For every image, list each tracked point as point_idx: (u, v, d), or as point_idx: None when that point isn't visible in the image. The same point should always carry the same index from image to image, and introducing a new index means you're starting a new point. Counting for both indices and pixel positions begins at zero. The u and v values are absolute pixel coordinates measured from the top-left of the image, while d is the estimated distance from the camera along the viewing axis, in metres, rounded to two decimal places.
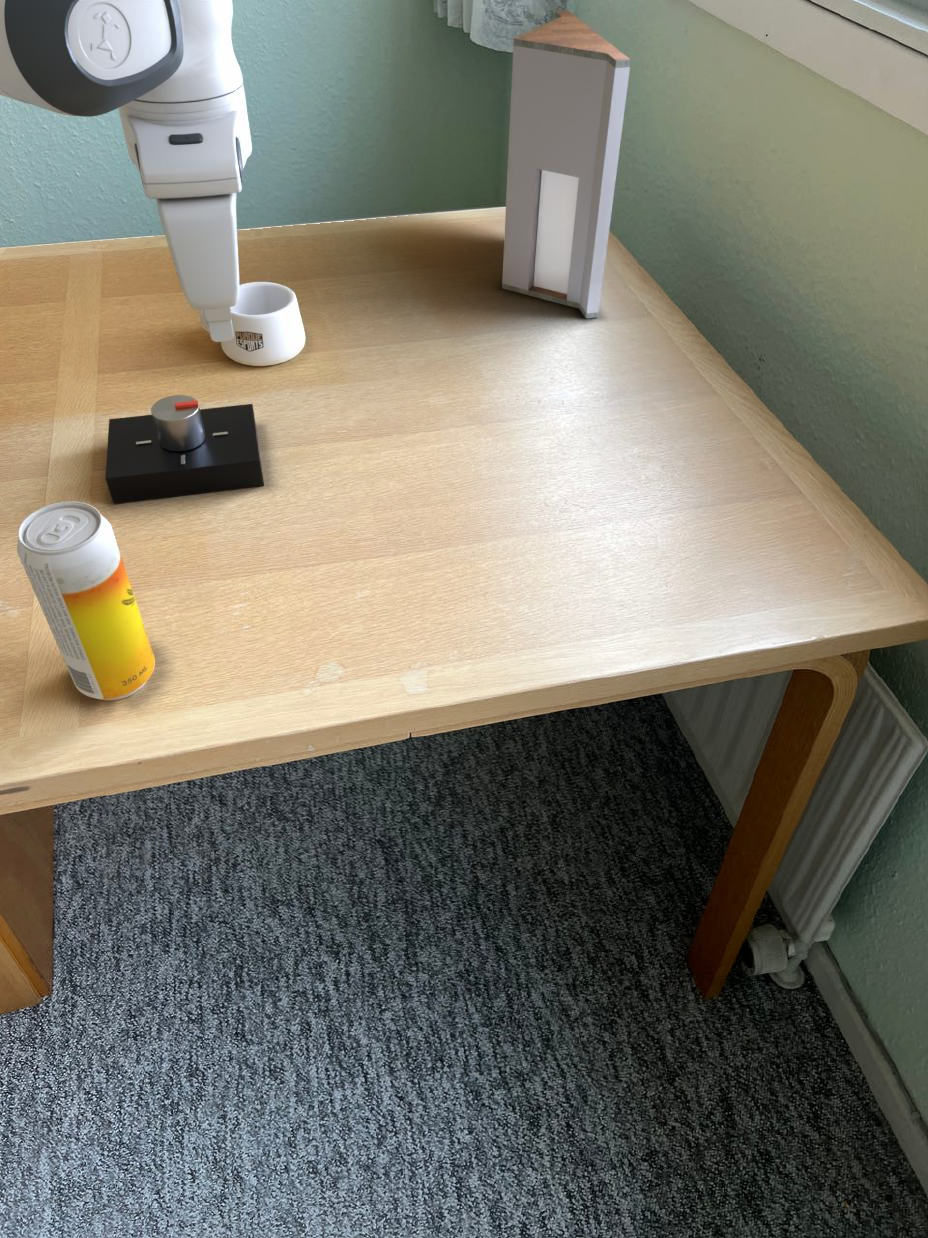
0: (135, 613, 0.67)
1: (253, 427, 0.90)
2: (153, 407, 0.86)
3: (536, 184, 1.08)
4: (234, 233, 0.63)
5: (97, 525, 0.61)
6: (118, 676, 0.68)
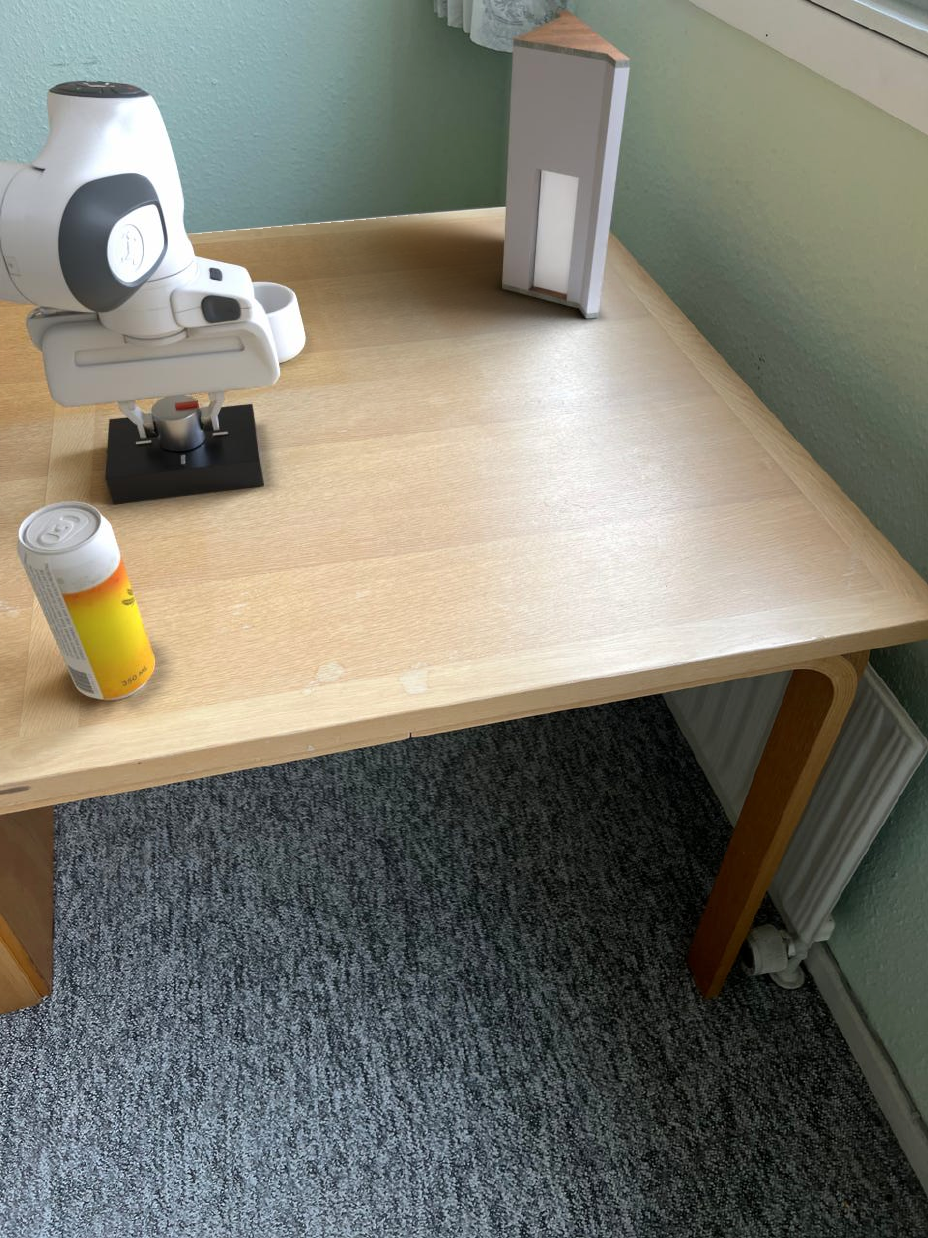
0: (135, 613, 0.67)
1: (253, 427, 0.90)
2: (153, 407, 0.86)
3: (536, 184, 1.08)
4: (264, 313, 0.84)
5: (97, 525, 0.61)
6: (118, 676, 0.68)
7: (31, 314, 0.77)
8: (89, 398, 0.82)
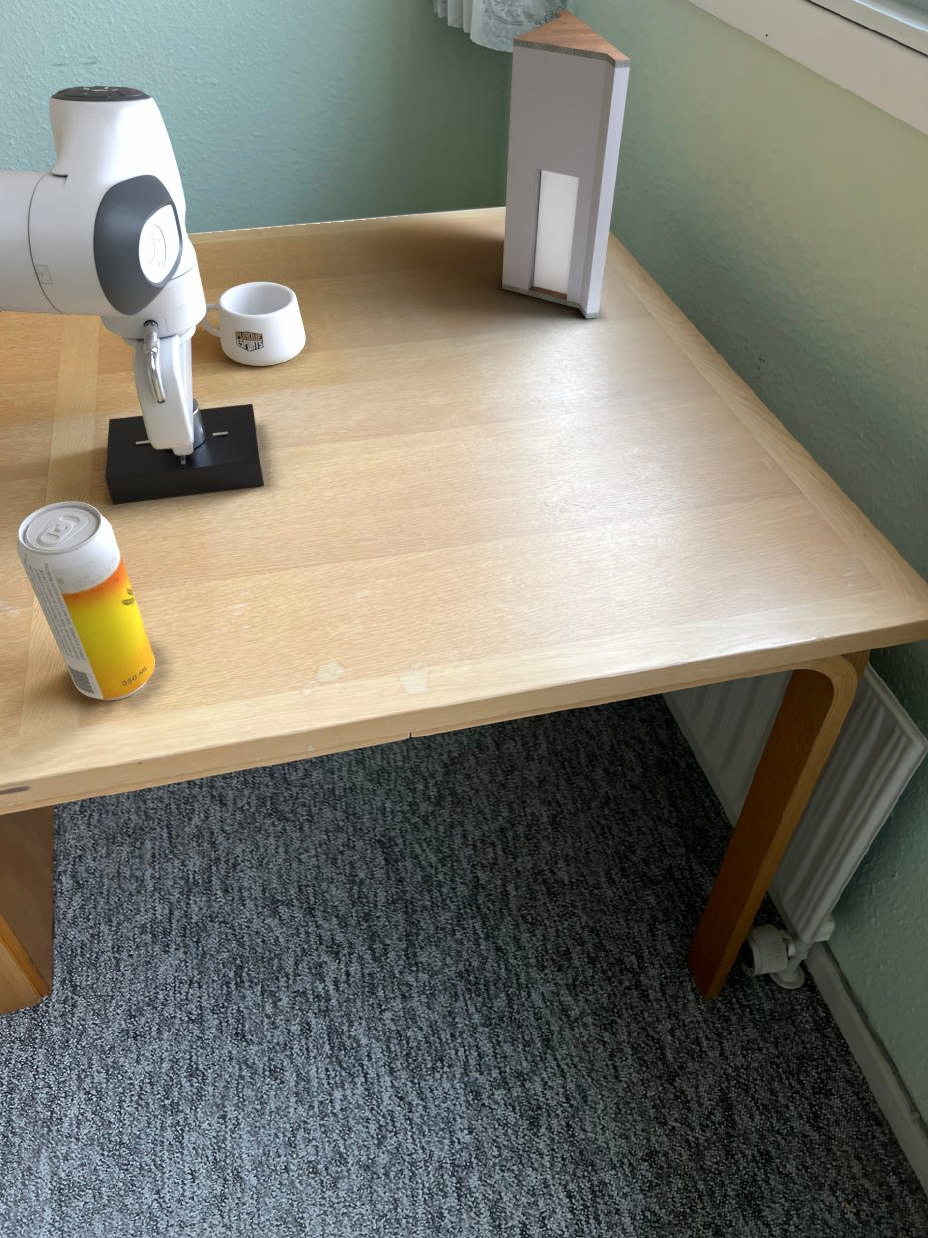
0: (135, 613, 0.67)
1: (253, 427, 0.90)
2: None
3: (536, 184, 1.08)
4: None
5: (97, 525, 0.61)
6: (118, 676, 0.68)
7: (153, 362, 0.73)
8: None
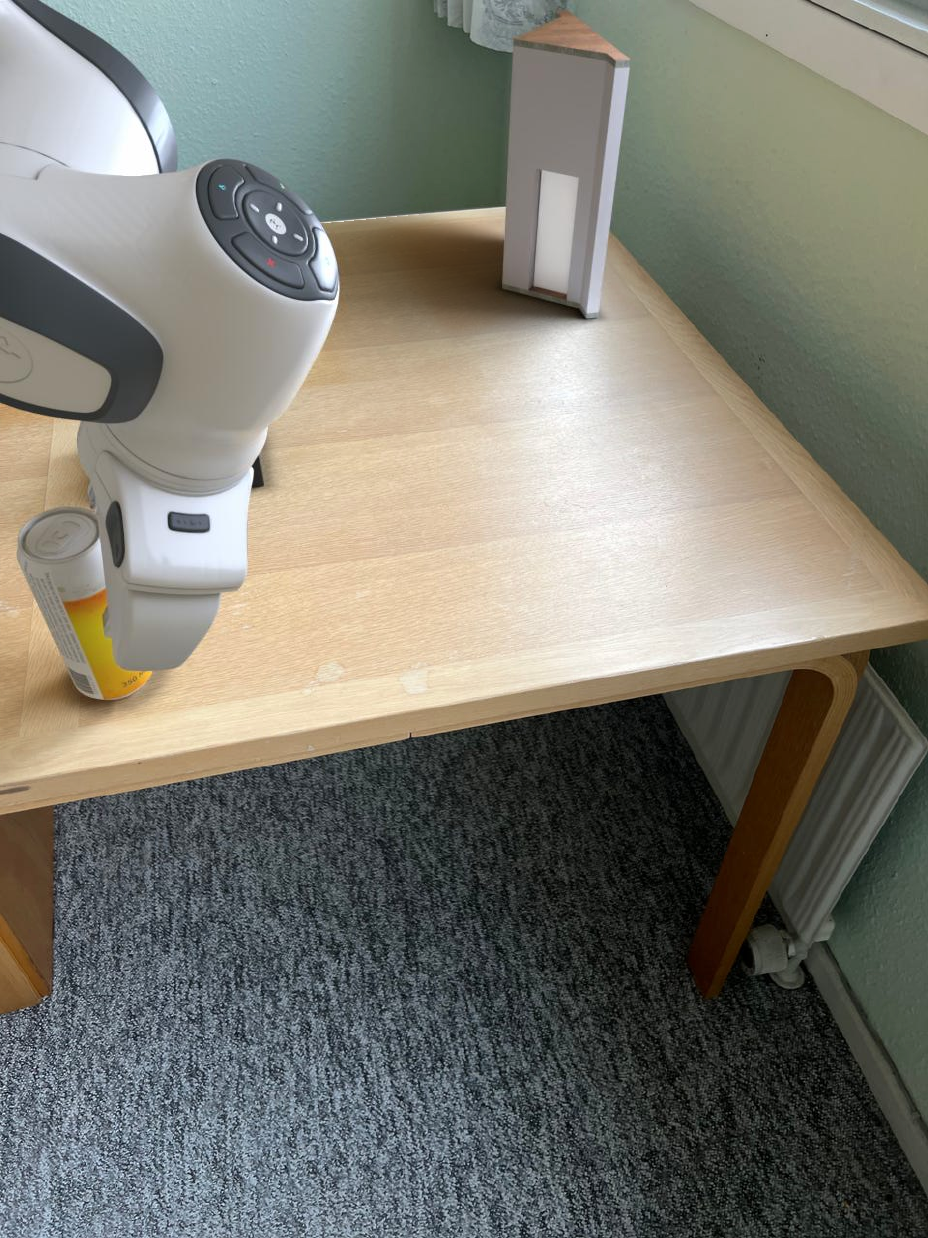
0: None
1: None
2: None
3: (536, 184, 1.08)
4: None
5: (98, 532, 0.61)
6: (118, 678, 0.67)
7: None
8: None
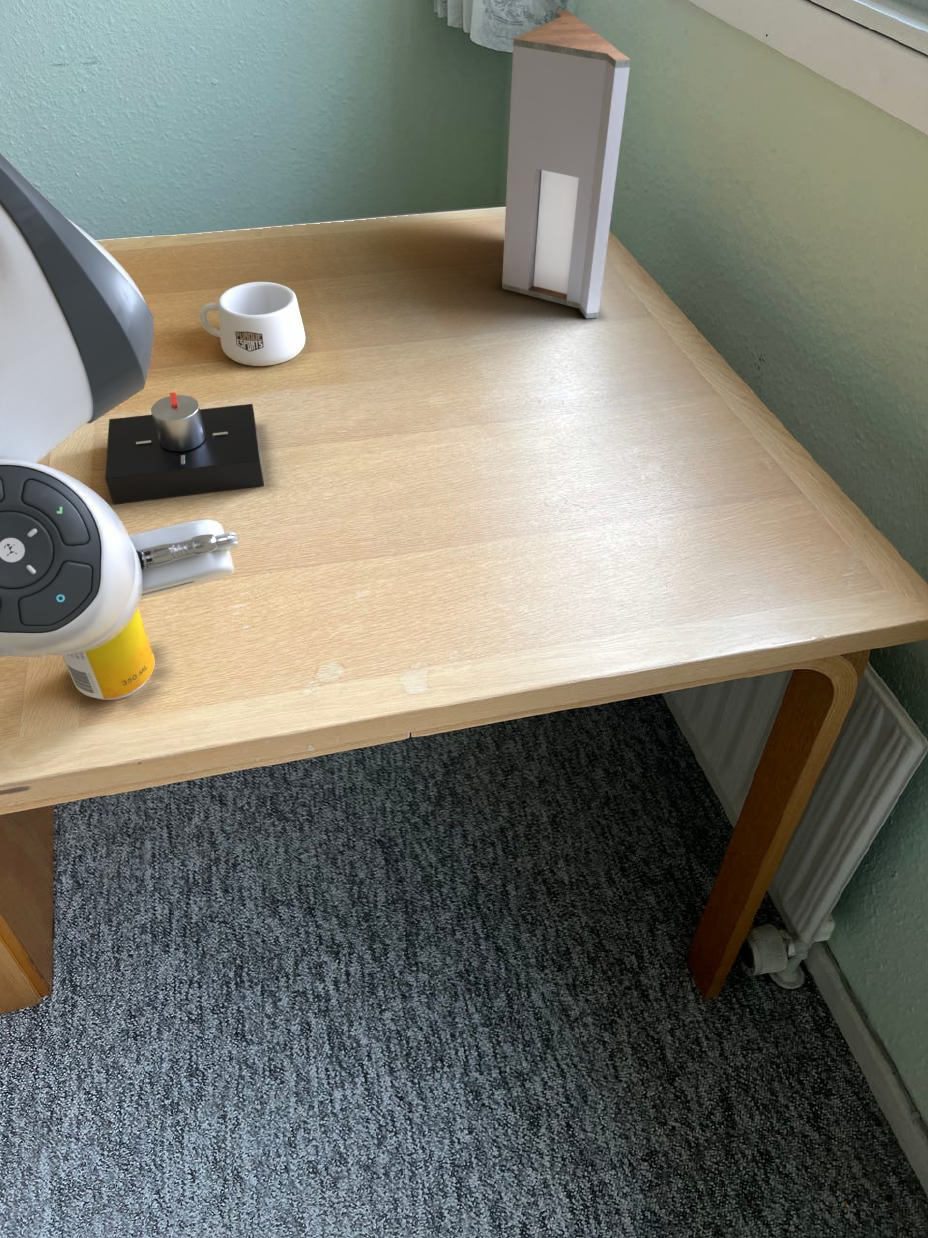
0: (135, 613, 0.67)
1: (253, 427, 0.90)
2: (172, 419, 0.85)
3: (536, 184, 1.08)
4: None
5: None
6: (118, 675, 0.68)
7: (227, 535, 0.56)
8: None
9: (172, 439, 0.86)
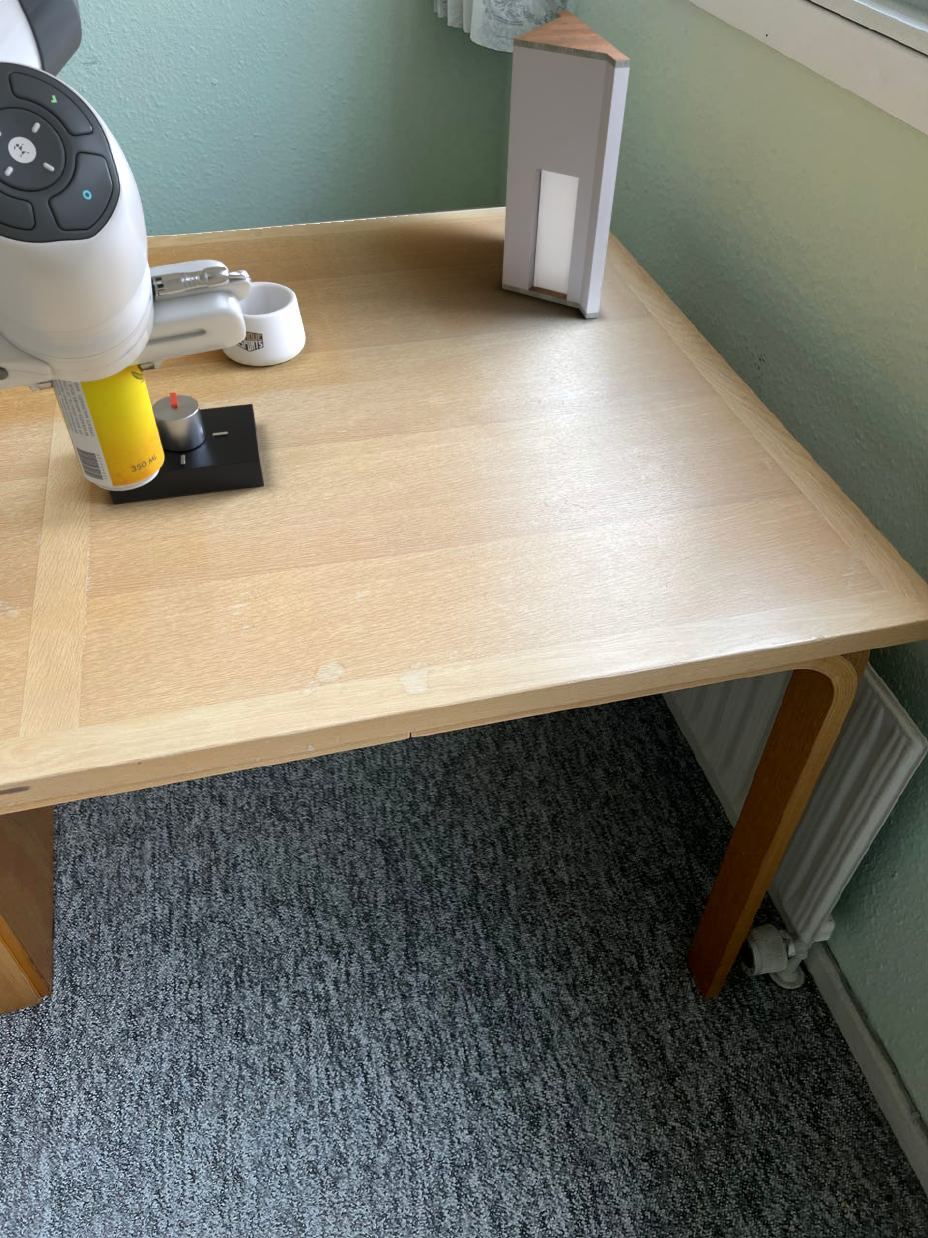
0: (145, 392, 0.66)
1: (253, 427, 0.90)
2: (172, 419, 0.85)
3: (536, 184, 1.08)
4: None
5: None
6: (128, 458, 0.67)
7: (239, 271, 0.55)
8: None
9: (172, 439, 0.86)
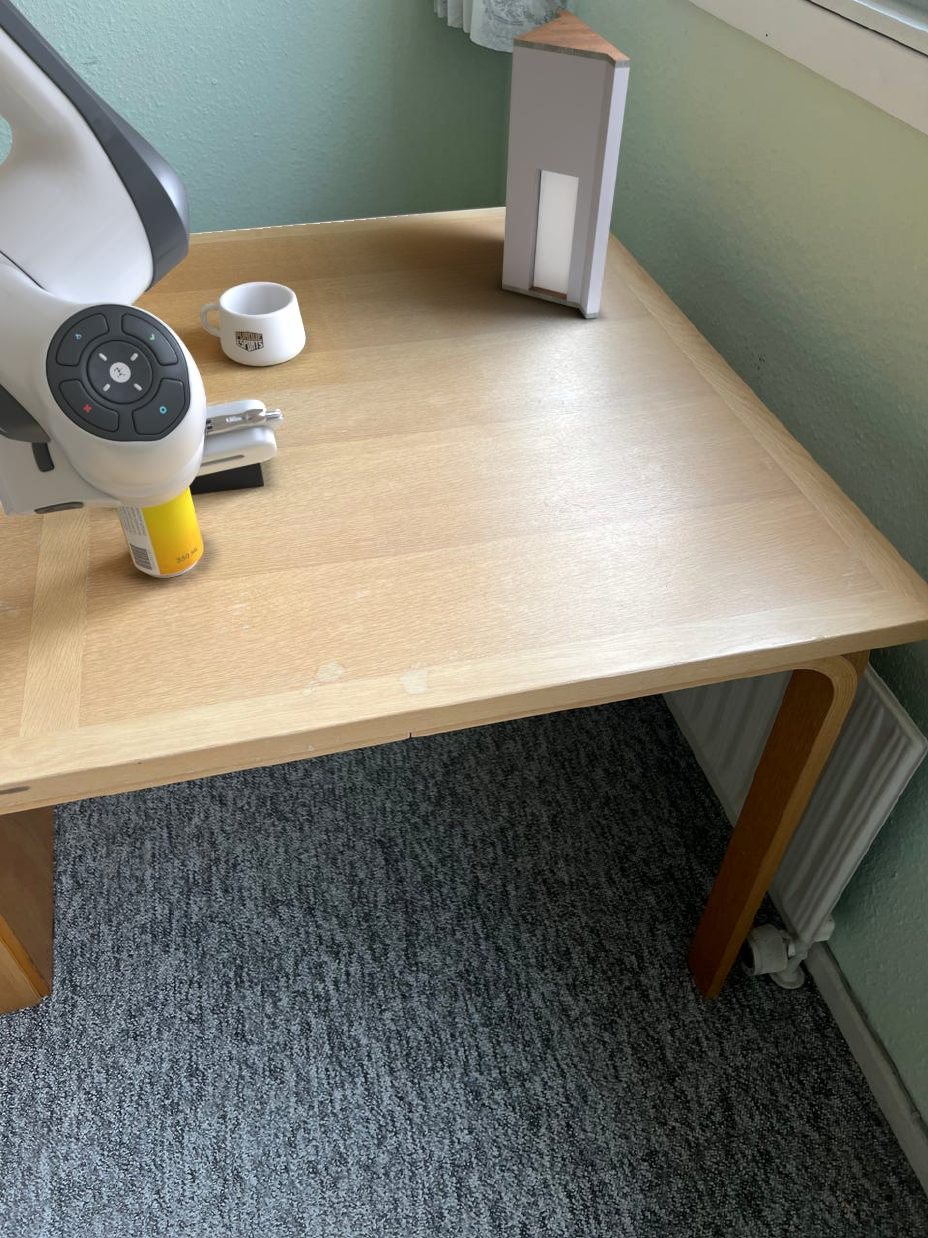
0: (189, 496, 0.76)
1: None
2: None
3: (536, 184, 1.08)
4: (7, 512, 0.63)
5: None
6: (174, 552, 0.77)
7: (274, 411, 0.66)
8: None
9: None
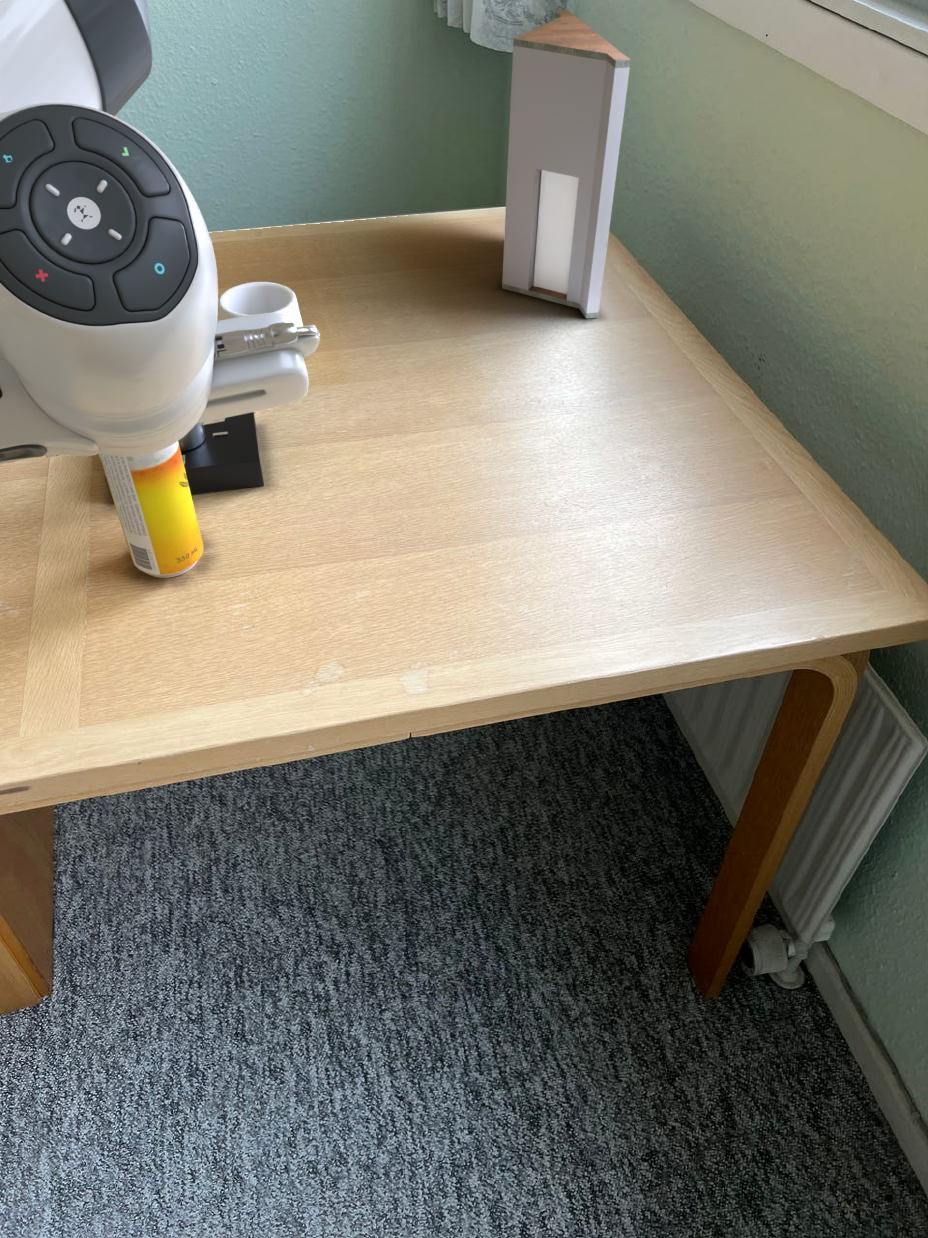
0: (189, 496, 0.76)
1: (253, 427, 0.90)
2: None
3: (536, 184, 1.08)
4: None
5: None
6: (174, 552, 0.77)
7: (308, 327, 0.48)
8: None
9: None
